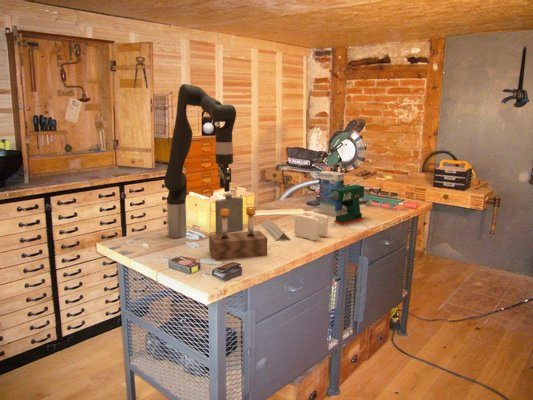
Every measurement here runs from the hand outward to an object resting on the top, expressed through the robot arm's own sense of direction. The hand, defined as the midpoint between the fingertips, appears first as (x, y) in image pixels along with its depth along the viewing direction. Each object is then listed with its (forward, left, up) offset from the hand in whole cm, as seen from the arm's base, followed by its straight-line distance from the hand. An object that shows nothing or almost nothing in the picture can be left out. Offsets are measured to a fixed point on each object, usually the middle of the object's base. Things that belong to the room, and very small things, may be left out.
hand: (224, 189), depth 191 cm
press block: (+6, 0, -30) cm, 30 cm away
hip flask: (+10, +34, -30) cm, 46 cm away
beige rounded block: (+48, +14, -30) cm, 58 cm away
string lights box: (+78, +52, -30) cm, 98 cm away
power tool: (+75, +32, -30) cm, 87 cm away
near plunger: (0, 0, -24) cm, 24 cm away
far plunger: (+12, 0, -24) cm, 27 cm away
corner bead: (+33, +26, -31) cm, 52 cm away
